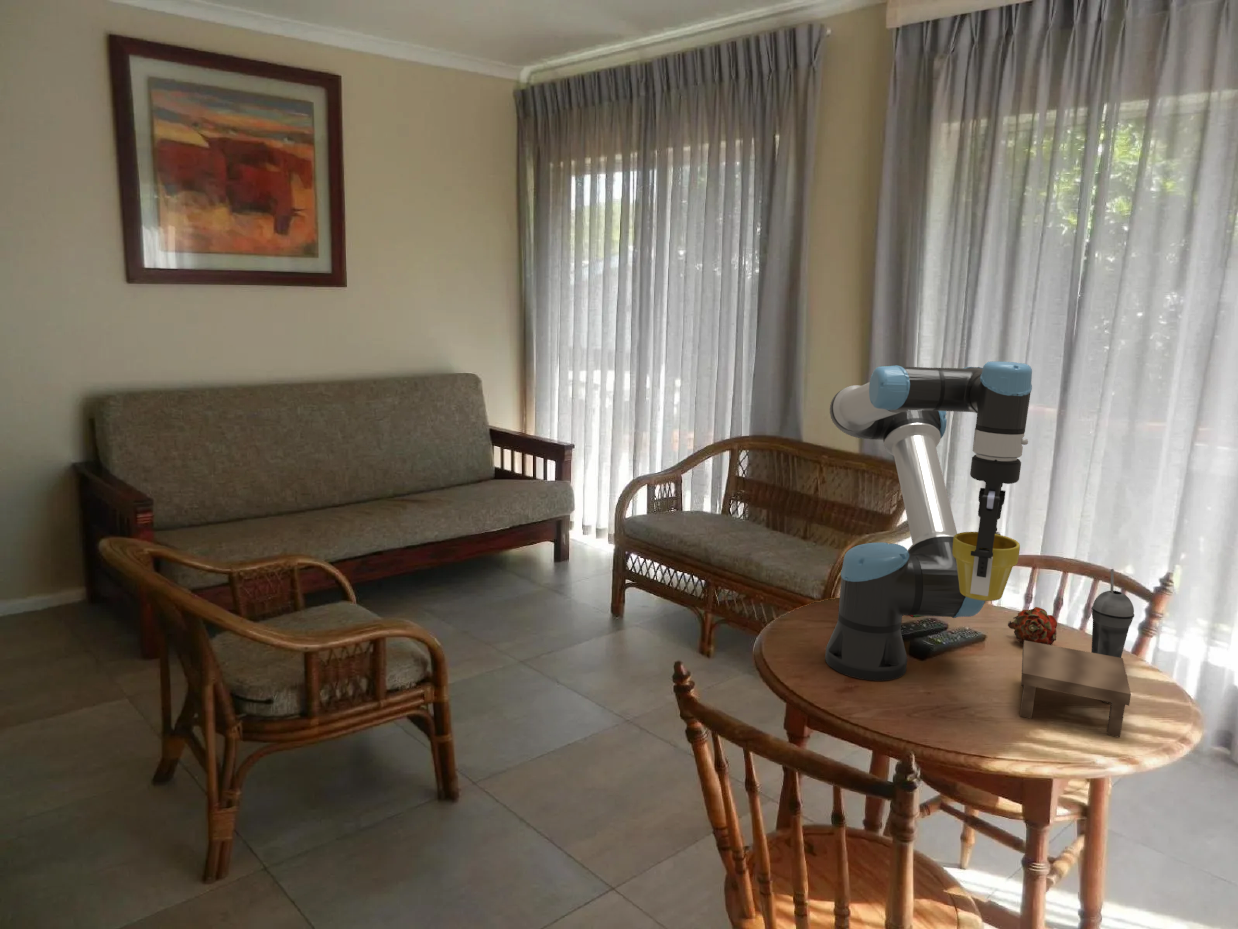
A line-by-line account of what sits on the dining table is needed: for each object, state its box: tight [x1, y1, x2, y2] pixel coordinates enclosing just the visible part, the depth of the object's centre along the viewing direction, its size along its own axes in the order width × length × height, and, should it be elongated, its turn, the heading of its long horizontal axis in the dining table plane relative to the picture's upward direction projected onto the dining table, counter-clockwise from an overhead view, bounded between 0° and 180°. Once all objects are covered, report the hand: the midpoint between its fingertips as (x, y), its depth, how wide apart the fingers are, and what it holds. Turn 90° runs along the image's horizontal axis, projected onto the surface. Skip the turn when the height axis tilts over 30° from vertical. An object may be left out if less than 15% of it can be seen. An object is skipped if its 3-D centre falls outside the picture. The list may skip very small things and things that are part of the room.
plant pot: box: [952, 531, 1021, 602], centre depth 148 cm, size 10×10×10 cm
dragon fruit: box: [1007, 606, 1058, 645], centre depth 180 cm, size 8×8×12 cm
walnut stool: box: [1019, 640, 1132, 738], centre depth 152 cm, size 16×16×8 cm
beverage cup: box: [1090, 568, 1135, 658], centre depth 168 cm, size 7×7×20 cm
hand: (981, 584), depth 148 cm, fingers closed on plant pot, 10 cm apart
